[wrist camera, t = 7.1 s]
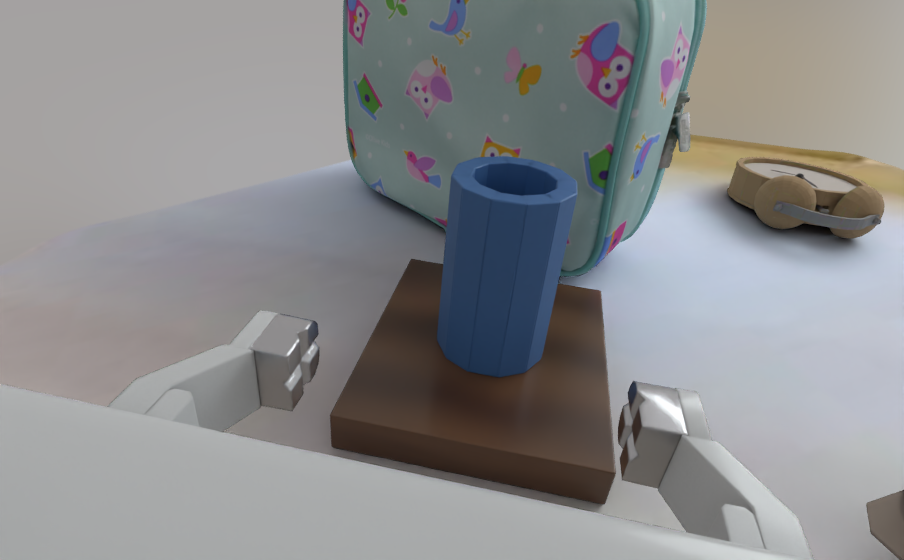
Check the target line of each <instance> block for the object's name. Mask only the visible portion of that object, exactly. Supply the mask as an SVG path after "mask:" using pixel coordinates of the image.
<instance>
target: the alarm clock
mask: <svg viewBox="0 0 904 560" xmlns="http://www.w3.org/2000/svg"><path fill="white" fill-rule="evenodd" d="M727 192H728V194H729V196H730V197H731V198H733V199H734V200H735V201H737V202H738V203H740V204H743V205H745V206H747V207H749V208H751V209H754V210H755V212H756V214H757V216H758V217H759V219H760V220H761V221H762V222H764V223H765V224H766V225H768V226H771V227H773V228H778V229H788V228H794V227H796V226H799V225H801V224H803V223H806V224H811V225H820V226H825V227H830V230H831V232H832V233H833V234H834V235H835V236H838V237H842V238H848V239H851V238H856V237H860V236H863V235H864V234H866V233H868V232H870V231H871V230H872V229H873V228H874V227H875V226H876V225H877V224H880V223H881V220H880V219H881V217H882V215H883V212H884V201H883V197H882V196H881V194H880V193H879V192H878V191H877V190H875V189H874V188H872V187H870V186H869V185H867V184H866V183H865V182H863V181H861V180H859V179H857V178H854V177H852V176H849V175H846V174H843V173H840V172H837V171H834V170H830V169H827V168H823V167H819V166H815V165H810V164H806V163H801V162H796V161H789V160H783V159H775V158H765V157H747V158H741V159H739V160H738V161H737V163H736V168H735V171H734V174H733V177H732V180H731V183H730V186H729V188H728V190H727Z"/></svg>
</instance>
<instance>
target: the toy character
mask: <svg viewBox="0 0 904 560" xmlns="http://www.w3.org/2000/svg"><path fill="white" fill-rule="evenodd" d="M866 506H867V513H868V519H869V525H870V532H871V534H872V535H873V536H874V537H875V538H876V539H878V540H879V541H880V542H881V543H882V544H883V545H884V546H885V547H886V548H887V549H889V550H890V551H891V552H892V553H893V554H894V555H895V556H896V557H897V558H898V559H900V560H904V490H902V491H899V492H897V493H894V494H891V495H888V496H885V497H882V498H880V499H877V500H874V501H871V502H868V503H867V505H866Z"/></svg>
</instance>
